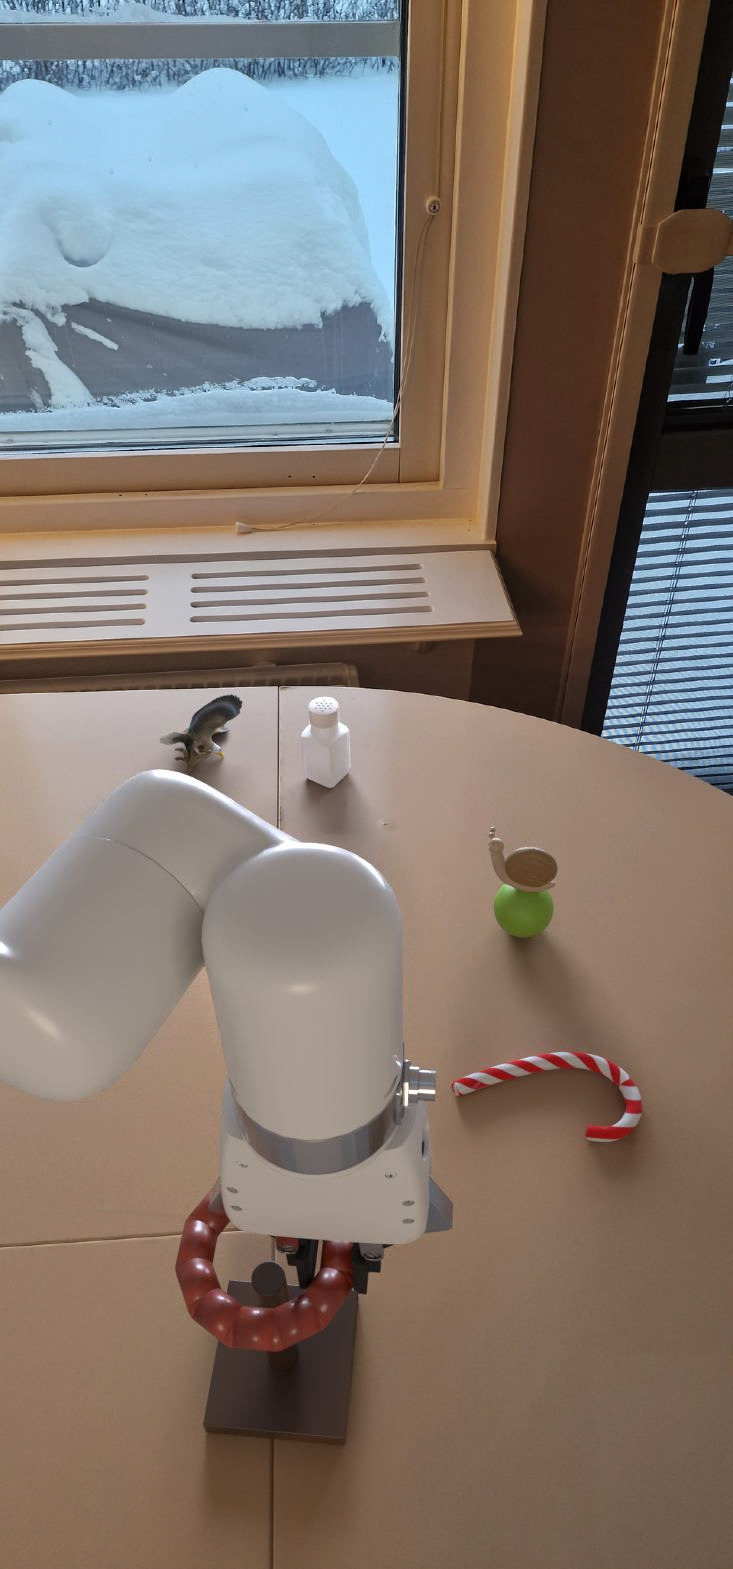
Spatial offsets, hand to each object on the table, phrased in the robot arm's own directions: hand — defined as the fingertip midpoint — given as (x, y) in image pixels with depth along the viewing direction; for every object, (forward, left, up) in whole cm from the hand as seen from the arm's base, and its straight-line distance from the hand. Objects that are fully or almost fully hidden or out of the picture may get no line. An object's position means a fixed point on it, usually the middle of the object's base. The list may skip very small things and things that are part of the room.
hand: (336, 1263), depth 58 cm
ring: (-4, 0, +1) cm, 4 cm away
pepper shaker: (-8, +59, -16) cm, 62 cm away
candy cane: (+14, +21, -16) cm, 30 cm away
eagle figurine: (-22, +62, -16) cm, 68 cm away
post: (-4, 0, -16) cm, 17 cm away
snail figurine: (+12, +39, -16) cm, 44 cm away
